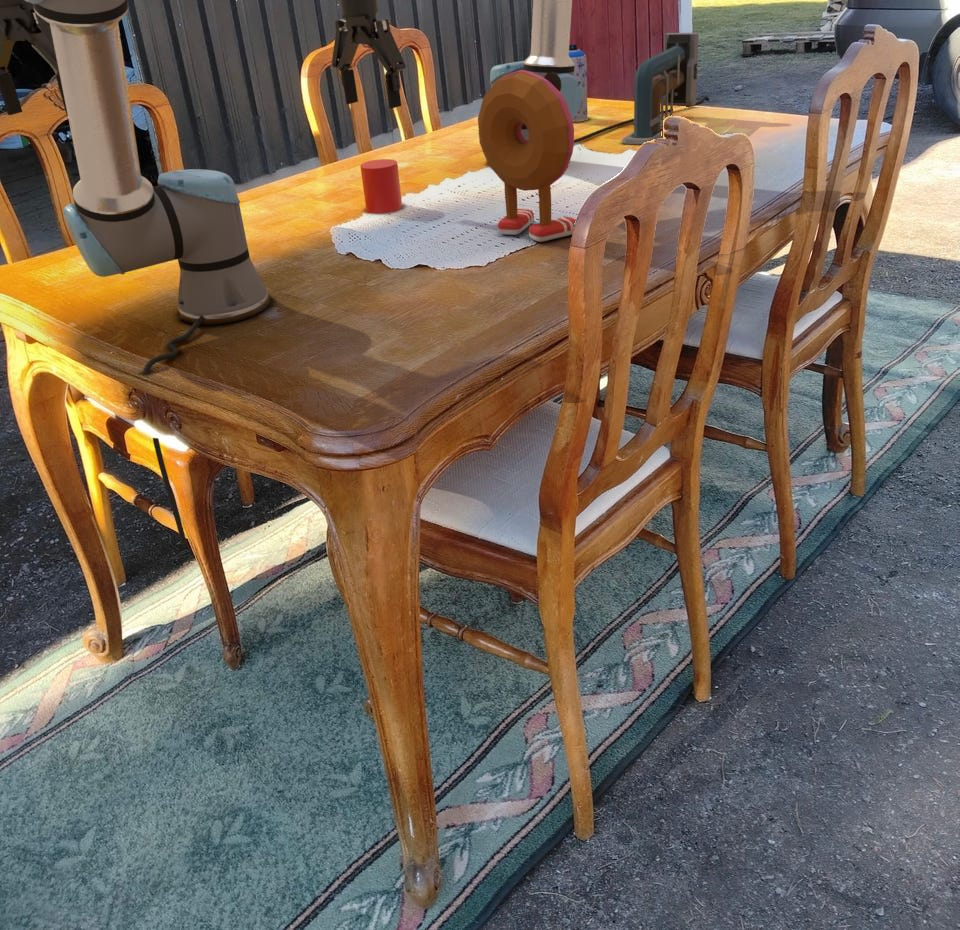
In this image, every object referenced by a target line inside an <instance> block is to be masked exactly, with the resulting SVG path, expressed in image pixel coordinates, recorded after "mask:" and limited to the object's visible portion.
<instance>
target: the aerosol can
mask: <svg viewBox="0 0 960 930" xmlns="http://www.w3.org/2000/svg"><path fill="white" fill-rule="evenodd" d="M569 57H570V58H571V60H572V61H573V62H574V63H575V67H574V77H575V78H576V79H577V80H578V83H579V84H580V85H581V88H582V102H581V106H580V109H579V111H578V113H577V114H576V116H575V117H573V119H572V121H573V123H580V122H584V121H587V120H589V116H588V63H587V55H586V54H585V52H584V51H583V50H581V49H579V48H578V44H577V43H574V44H569Z"/></svg>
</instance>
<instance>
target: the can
mask: <svg viewBox="0 0 960 930" xmlns="http://www.w3.org/2000/svg"><path fill="white" fill-rule="evenodd" d="M359 168H360V173H361V180H362V181H361V182H362V188H363V189H362V190H363V195H364V203H365V210H366V212H367V213H369V214H378V215H379V214H389V213H393V212H397V211H399V210H401V209H402V208H403V202H402V193H401V183H400V176H399V175H400V173H399V167H398V161H397V160H395V159H391V158H381V159H373V160H368V161H365V162H363V163H361V164H360V167H359Z"/></svg>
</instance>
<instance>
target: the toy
mask: <svg viewBox="0 0 960 930" xmlns="http://www.w3.org/2000/svg"><path fill="white" fill-rule="evenodd" d="M560 90H561V80H560V77H559V76H558V75H557V74H556V73H554V72H550V73H547V74H546V75H545V77H541V76H539V75H537V74H534V73H532V72H529V71H525V70H519V71H516V72H513V73H509V74H507V75H504V76H503V77H502V78H500V79H499V80H498V81H497V82H496V83H495V84H494V86H493V87H492V88H491V87H490V89H489V90H488V91H487V93H485V95H484V96H483V97H482V102H481V105H480V109H479V113H478V117H477V127H478V128H477V129H478V140H479V145H480V148H481V151H482V153H483V156H484V158H485V160H486V163H487V165H488V166H489V168H490V169H491V170H492V171H493V172H494V173H495V174H496V175H497V177H498V178H499V179H500V180H501V182H502V183H504V199H505V200H504V201H505V213H506V214H505V216H504V217H503V218H501V219H500V220H499V221H498V223H497V232H498V234H500V235H510V236H513V235H514V236H515V235H519V234H520V233H522V232H523V231H524V230H525V229H527V228H528V227H529V228H528V235H529V238H530V239H532V240H533V241H535V242H539V243H544V242H548V241H552V240H556V239H561V238H564V237H568V236H572V230H573V226H574V223H575V221H576V220H577V219H576V218H574V217H571V216H564V217H560V218H555V219H552V190H551V186H552V185H553V184H554V183H556V182H558V180H559V179H561V178H562V177H563V176H564V175H565V173H566V171H567V170H568V169H569V165H570V162H571V159H572V157H573V152H574V146H575V143H574V140H575V127H574V122H573V121H572V117H571V114H570V111H569V108H568V105H567V102H566V101H565V99H564V97H563V96H562V94H561V93H560ZM523 124H525V125H526V126H527V129H528V132H529V141H527V140H525V139H524V137H523V135H522V133H521V130H522V125H523ZM518 190H520V191H525V192H526V191H536V190H537V191H538V192H537V193H538V212H539V213H538V214H539V222H538V223H534V222H535V214H534V212H533V209H532V210H531V209H527V208H518Z"/></svg>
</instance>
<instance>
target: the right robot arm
mask: <svg viewBox="0 0 960 930" xmlns="http://www.w3.org/2000/svg"><path fill="white" fill-rule="evenodd" d="M338 3H339V8H340V14H341V16H342V17H344V18H340V19H335V22H334V23H335V24H334V25H335V36H334V43H333V51H332V58H331V67H333V68H337V71H339V73H340V79H341V85H342V87H343V91H344V98H345V104H346V105H351V104H355V103H358V102H359V98H358V90H357V84H356V77H355V72H354V69H353V65H352V63H353V60H354V58H355V55H356V53H357V50H358V47H359V46H360V45H363V46H364V45H367V46H368V47H369V48H371V50H372V51H373V53H374V54H375V56H376V57H377V59H378V60H379V62H380V63H381V66H382V67H383V68H384V70H385V74H384V77H385V78H384V81H385V86H386V94H387V101H388V109H391V110H392V109H395V108H399V107H402V100H401V92H400V90H401V80H400V72H401V71H403V70H406V68H407V67H406V63H405V61H404V58H403V56H402V54H401V52H400V50H399V47H398V45H397V42H396V40H395V38H394V35H393V33H392V31H391V27H390V26H391V25H390V21H389V20H388V18H384V19H379V20H378V19H377V14H378V12H379V3H378V0H338ZM572 9H573V0H532V18H531V37H530V38H531V39H530V54H529V56H527V58H525V60H521V61H513V62H509V63H508V62H507V63H502V64H497V65H494V66H492V67H491V69H490V72H489V73H490V74H489V85H490V89H491V88H492V87H493V86H494V84H495V83H496V82H497V81H498V80H499V79H500V78H502V77H503V76H504V75H507V74H509V73H513V72H516V71H519V70H525V71H529V72H532V73H534V74H537V75H539V76H541V77H545V75H546V74H547V73H550V72H554V73H556V74H557V75H558V76H559V77H560V80H561V90H560V93H561V94H562V96H563V97H564V99H565V101H566V102H567V105H568V108H569V111H570V114H571V117H572V119H573V117H575V116H576V114H577V113H578V111H579V109H580V106H581V102H582V88H581V85H580V84H579V83H578V80H577V79H576V78H575V77H574V67H575V63H574V62H573V61H572V60H571V58H570V57H569V45H570V40H571V39H570V38H571V25H572V24H571V23H572ZM705 101H706V102H709V101H710V98H709V97H708V96H707V95H704V96H703V98H701V100H699V101H696V104H695V105H694V106H686V107H688V108H693V107H696V106H699V105H702V104H703V103H704V102H705ZM668 109H669V110H668V113H670V108H668ZM663 115H665V111H664V110H663ZM660 116H661V110H660ZM633 121H634V118H631V119H628V120H624V121H621V122H617V123H615V124H611V125H609V126H606V127H603V128H601V129H598V130H596V131H592V132H591V133H589V134H586V135H584V136H581V137H578V138H576V139H575V138H574V144H577V143H579V142H582V141H585V140H587V139H590V138H593V137H595V136H596V135H599V134H602V133H604V132H607V131H610V130H613V129H615V128H618V127H621V126H625V125H628V124H631V123H633ZM521 133H522V135H523V137H524V139H525V140H527V141H529V132H528V129H527V126H526V125H525V124H523V125H522V130H521Z"/></svg>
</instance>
